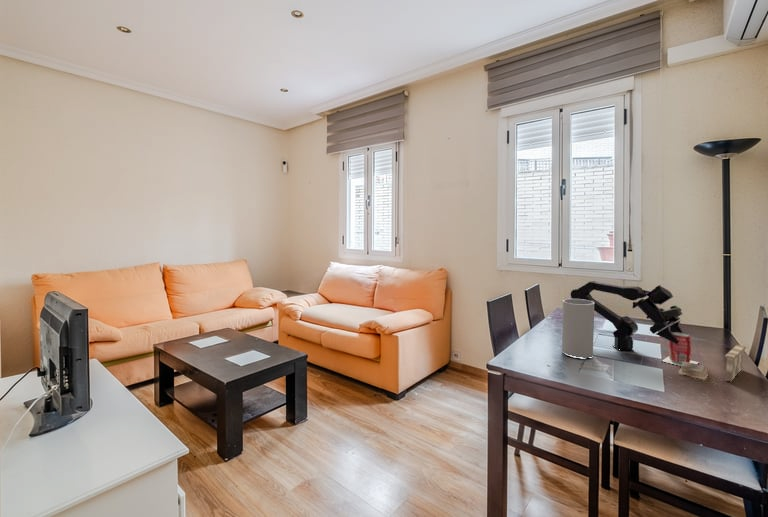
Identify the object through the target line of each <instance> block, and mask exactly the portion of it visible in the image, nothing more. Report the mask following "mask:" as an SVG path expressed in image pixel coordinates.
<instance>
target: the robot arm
mask: <svg viewBox="0 0 768 517" xmlns="http://www.w3.org/2000/svg"><path fill="white" fill-rule="evenodd" d="M593 291H598V292H603V293H608V294H613V295H618V296H620V297H622V298H624V299H626V300H629V301H633V302H632V309H635V308H638V309H640V311H641V312H643V314H645V318H646V319H648V320H649V319H650V320H651V322H652V323H653V325H652V326H650V327H649V331H650V332H651V333H652V335H654V334H655V335H657V336H659V337H661V338H663V339H665V340H668V341H669V342H670V341H672V342H674V343H676V344H678V343H679V342H678V340H677V339H676V337H675V336H674V335H673V334H672V333H673V332H680V333H684V331H683V330H682V328H681V326H680V323H681V318H680V316H682V315H683V312H682V308H680V307H679V306H677V305H672V306H670V307H669V309H664V308H661V307H658V305H660V306H661V305H663V304H665V303H666V302H667V301H669V300H671V299H672V298H673V297H674V295H673V294H672V292H671V291H670V290H669V289H666V288H665V287H663V286H661V284H660V285H657V286H656V287H655V288H654V289H652V290H651V291H650V290H645V289H643V288H642V287H640V286H632V285H631V286H630V285H629V286H622V285H614V284H612V283H611V284H610V283H605V282H600V281H595V280H592V281H587V283H585V284H584V285H582V286H580V287H578V288H575V289H572V290H571V292H570V299H584V300H589V301H593V302H594V312H596V313H597V314H599V315H600V316H602V317H603V318H604V319H605V320H607V321H609V322H610V323H611V324H612V325H613V327H614V328H615V329H616V330H614V331H613V332H612V335H613V338H614V343H613V345H614V346H615V347H616V348H617V349H618V350H617V349H616V348H615V349H616V350H617V351H619V349H620V350H630V351H629V352H634V351H635V350H634V340H633V337H632V336H633V335H634V334H635V333H637V332H638V330H639V327H638V324H637V323H636V320H635V319H631V317H629V316H628V315H625V316H620V315H619V314H617V313H616V312H614V311H612V310H611V309H610V308H608V307H607V306H605V305H603V304H602V303H601V302H599V301H597V300H596V299H595V298H594V297H593V296H592V295H591V293H592V292H593ZM637 300H638V301H637Z"/></svg>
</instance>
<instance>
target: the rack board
mask: <svg viewBox="0 0 768 517" xmlns="http://www.w3.org/2000/svg"><path fill="white" fill-rule="evenodd" d="M746 348H747V347H746V345H741V344H736V345H735V346H734V347H732V349H730V350H729V351H728V352H727V353H726V354H725V358H726V368H725V369H726V370H725V381H726V380H728V381H732V380H733V379H734V378H735V376H736V375H737V374H738V373H739V372H740V371H741V370H742V371H743V365H744V351H745V350H746ZM742 371H741V372H742ZM741 372H740V373H741ZM740 373H739V374H740ZM739 374H738V375H739ZM735 379H736V378H735ZM735 379H734V380H735ZM734 380H733V381H734ZM733 381H732V382H733Z"/></svg>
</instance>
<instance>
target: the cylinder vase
mask: <svg viewBox="0 0 768 517" xmlns="http://www.w3.org/2000/svg"><path fill="white" fill-rule="evenodd" d="M561 322H562V324H561V326H562V327H561V328H562V329H561V330H562V331H561V334H562V335H561V352H562V351H563V352H564V353H566V354H568V355H572V356H576V357H583V358H589V357H592V356H594V336H595V335H594V334H595V333H594V327H595V323H594V322H595V311H594V302H593V301H589V300H584V299H572V298H566V299H563V300H562V321H561ZM592 358H593V357H592Z"/></svg>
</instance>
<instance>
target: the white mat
mask: <svg viewBox="0 0 768 517" xmlns="http://www.w3.org/2000/svg"><path fill="white" fill-rule="evenodd" d="M661 361H663V362H662V363H664V362H666V363H665V364H668V363H670V364H669V365H672V364H674V365H673V366H676V365H678V366H677V367H680V366H681V364H680V363H676V362H673V361H672V360H671V359H669V355H668V356H667V357H665V358H663V359H662V360H661ZM689 363H694V364H698V363H699V364H700V362H698V361H695V360H691V359H690V362H689Z"/></svg>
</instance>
